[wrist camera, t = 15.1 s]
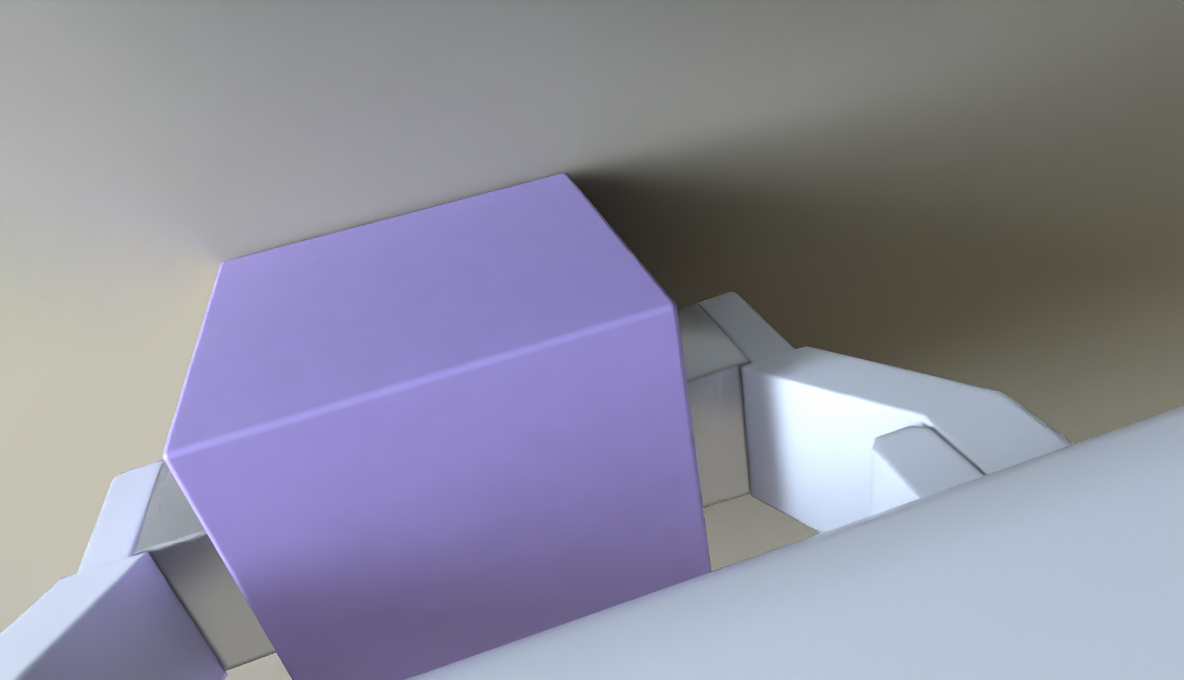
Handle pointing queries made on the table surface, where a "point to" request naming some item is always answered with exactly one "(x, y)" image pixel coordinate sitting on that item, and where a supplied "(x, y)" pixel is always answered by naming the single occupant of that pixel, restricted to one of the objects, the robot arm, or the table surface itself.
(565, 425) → the purple cube
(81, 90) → the table surface
